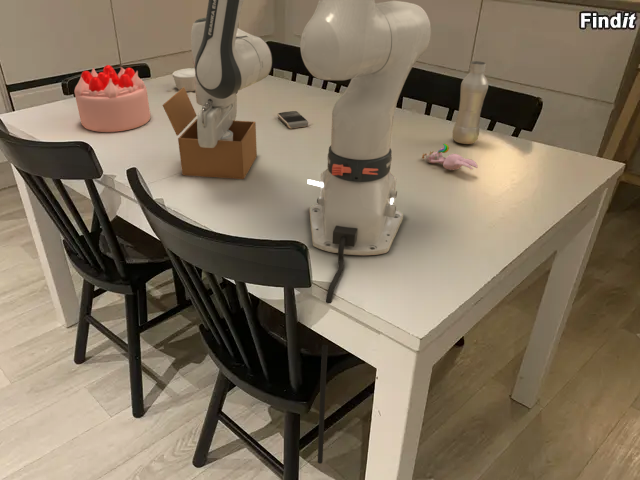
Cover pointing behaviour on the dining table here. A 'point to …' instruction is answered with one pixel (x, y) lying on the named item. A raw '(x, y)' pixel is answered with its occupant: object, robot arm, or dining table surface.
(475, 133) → the plastic bottle
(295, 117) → the cell phone
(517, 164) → the dining table surface
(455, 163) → the pink elongated figure
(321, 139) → the dining table surface
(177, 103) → the flap
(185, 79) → the ramekin
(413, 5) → the robot arm
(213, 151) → the carton
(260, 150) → the dining table surface
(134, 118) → the cake
